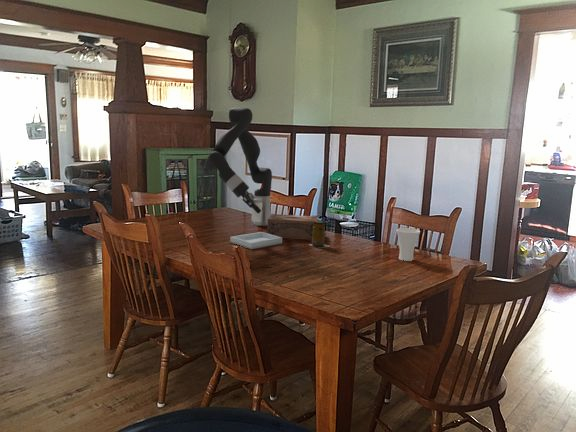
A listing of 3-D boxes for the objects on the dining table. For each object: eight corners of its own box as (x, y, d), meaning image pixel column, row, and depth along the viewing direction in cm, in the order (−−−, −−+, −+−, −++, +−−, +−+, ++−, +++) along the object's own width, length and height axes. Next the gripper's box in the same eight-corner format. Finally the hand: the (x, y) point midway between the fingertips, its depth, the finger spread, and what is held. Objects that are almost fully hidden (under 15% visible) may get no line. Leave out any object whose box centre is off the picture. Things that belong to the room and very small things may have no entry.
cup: (401, 263, 219) (403, 233, 216) (390, 256, 229) (392, 228, 226) (422, 262, 221) (424, 232, 219) (410, 255, 231) (412, 227, 229)
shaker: (257, 219, 247) (257, 197, 245) (263, 221, 243) (264, 199, 241) (249, 220, 244) (250, 198, 242) (255, 222, 240) (256, 199, 238)
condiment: (318, 243, 250) (319, 219, 248) (330, 246, 244) (331, 222, 242) (307, 245, 246) (308, 221, 243) (319, 248, 239) (320, 224, 237)
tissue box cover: (317, 234, 271) (318, 216, 269) (316, 240, 257) (317, 221, 255) (270, 231, 274) (271, 214, 272) (267, 237, 260) (267, 218, 258)
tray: (261, 237, 258) (261, 231, 257) (282, 243, 247) (282, 237, 246) (230, 242, 244) (230, 236, 244) (250, 249, 233) (250, 243, 233)
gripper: (239, 182, 234) (263, 208, 235) (245, 179, 248) (268, 204, 249) (228, 192, 235) (252, 219, 236) (235, 189, 249) (257, 213, 250)
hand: (260, 211), depth 242 cm, fingers closed on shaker, 5 cm apart
